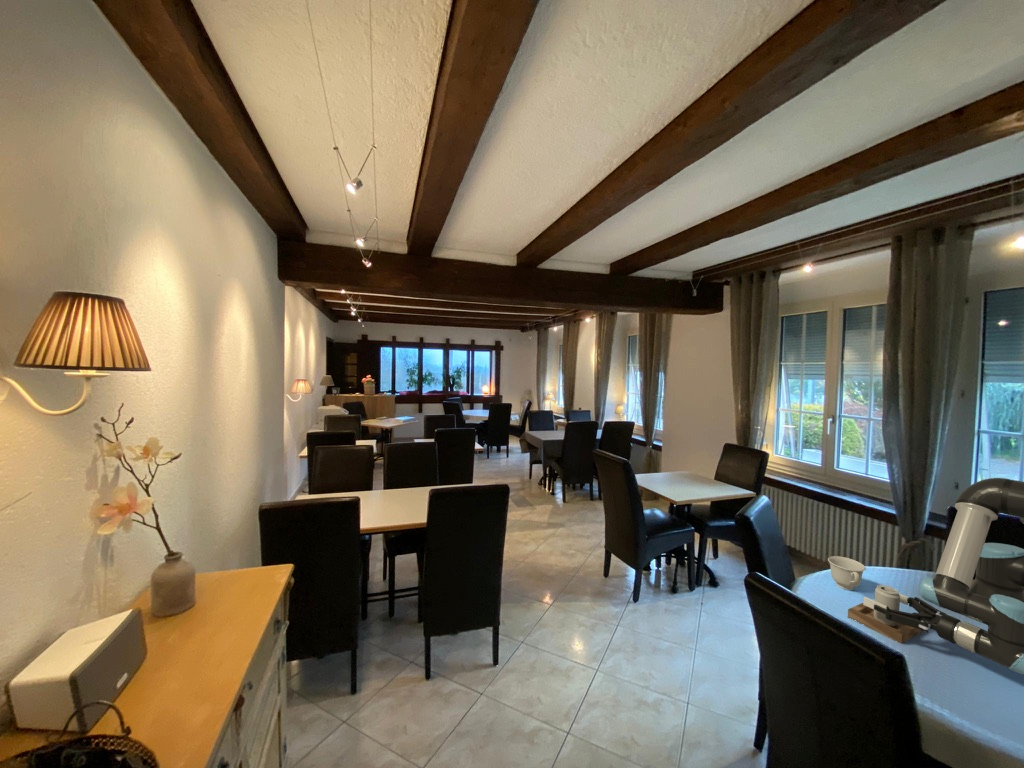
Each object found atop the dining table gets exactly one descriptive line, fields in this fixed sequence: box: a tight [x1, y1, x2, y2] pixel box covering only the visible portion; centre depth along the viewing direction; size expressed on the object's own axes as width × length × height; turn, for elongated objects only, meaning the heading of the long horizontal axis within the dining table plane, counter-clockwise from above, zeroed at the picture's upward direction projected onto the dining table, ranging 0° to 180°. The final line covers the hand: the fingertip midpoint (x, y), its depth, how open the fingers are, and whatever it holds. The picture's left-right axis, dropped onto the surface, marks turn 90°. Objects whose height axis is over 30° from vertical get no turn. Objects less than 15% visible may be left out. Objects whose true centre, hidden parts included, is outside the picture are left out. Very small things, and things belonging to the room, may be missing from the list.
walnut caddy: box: [847, 602, 924, 645], centre depth 140 cm, size 15×15×3 cm
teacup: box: [827, 555, 867, 591], centre depth 162 cm, size 12×15×10 cm
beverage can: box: [874, 584, 901, 626], centre depth 140 cm, size 6×6×12 cm
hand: (874, 595), depth 143 cm, fingers open, 13 cm apart
